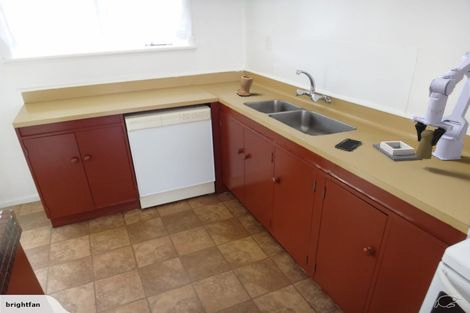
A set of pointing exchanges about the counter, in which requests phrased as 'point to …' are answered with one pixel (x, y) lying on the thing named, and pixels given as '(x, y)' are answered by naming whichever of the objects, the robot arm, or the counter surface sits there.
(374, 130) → the counter surface
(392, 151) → the socket dock
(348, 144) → the phone
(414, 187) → the counter surface
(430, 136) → the cork
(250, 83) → the stone cup
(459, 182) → the counter surface
